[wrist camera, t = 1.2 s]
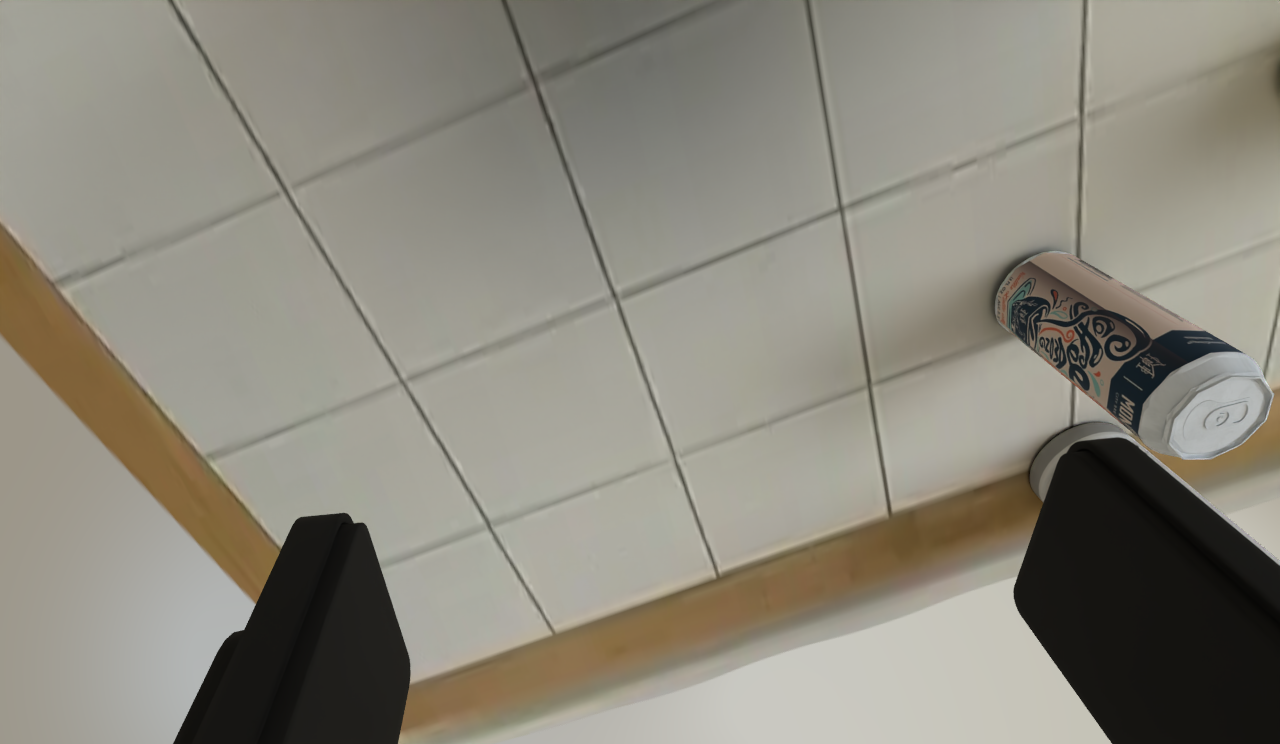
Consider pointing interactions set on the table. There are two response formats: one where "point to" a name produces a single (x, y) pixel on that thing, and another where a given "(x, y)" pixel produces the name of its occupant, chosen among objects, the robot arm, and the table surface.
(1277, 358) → the table surface
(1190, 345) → the beer can
